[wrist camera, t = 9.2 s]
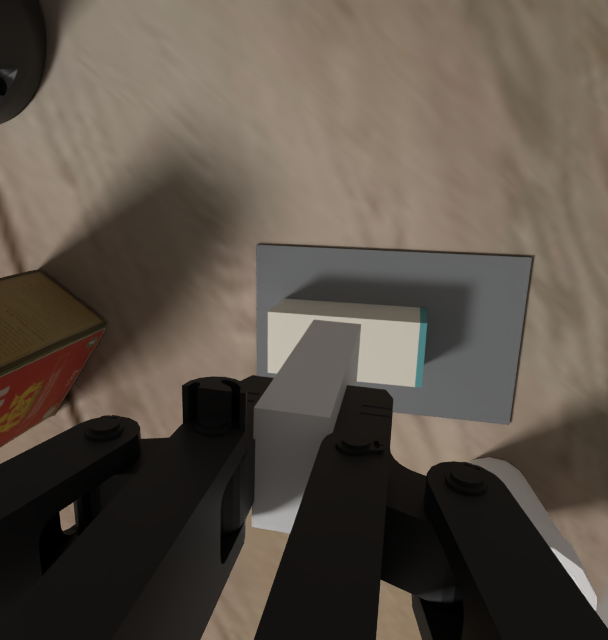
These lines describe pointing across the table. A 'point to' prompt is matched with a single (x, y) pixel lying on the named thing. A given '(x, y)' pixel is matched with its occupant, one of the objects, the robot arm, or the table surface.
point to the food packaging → (40, 348)
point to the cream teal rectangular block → (375, 338)
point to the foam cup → (541, 522)
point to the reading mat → (442, 317)
